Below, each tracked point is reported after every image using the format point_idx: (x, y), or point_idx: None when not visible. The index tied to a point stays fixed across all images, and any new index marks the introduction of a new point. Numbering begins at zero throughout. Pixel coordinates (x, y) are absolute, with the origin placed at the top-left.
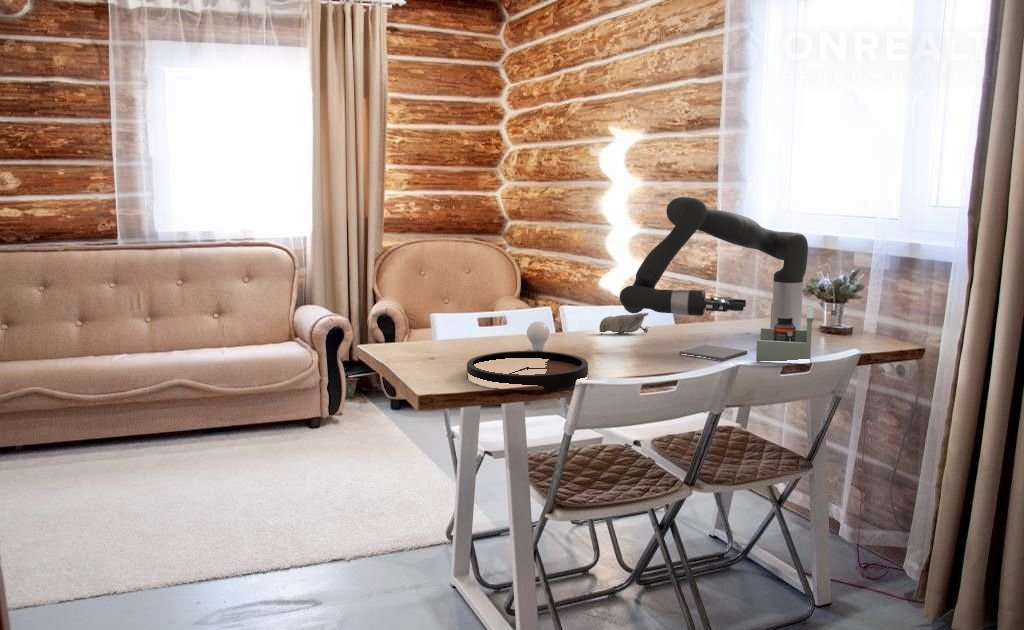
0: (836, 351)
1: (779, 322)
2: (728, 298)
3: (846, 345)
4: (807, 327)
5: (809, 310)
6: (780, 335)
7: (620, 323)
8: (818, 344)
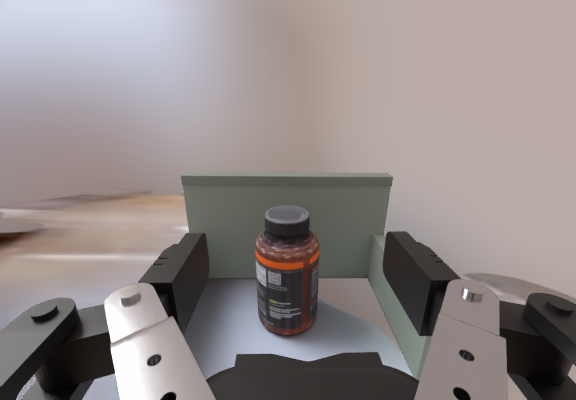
0: None
1: (301, 235)
2: (126, 312)
3: (147, 233)
4: (388, 199)
5: (256, 174)
6: (317, 267)
7: None
8: (125, 261)
